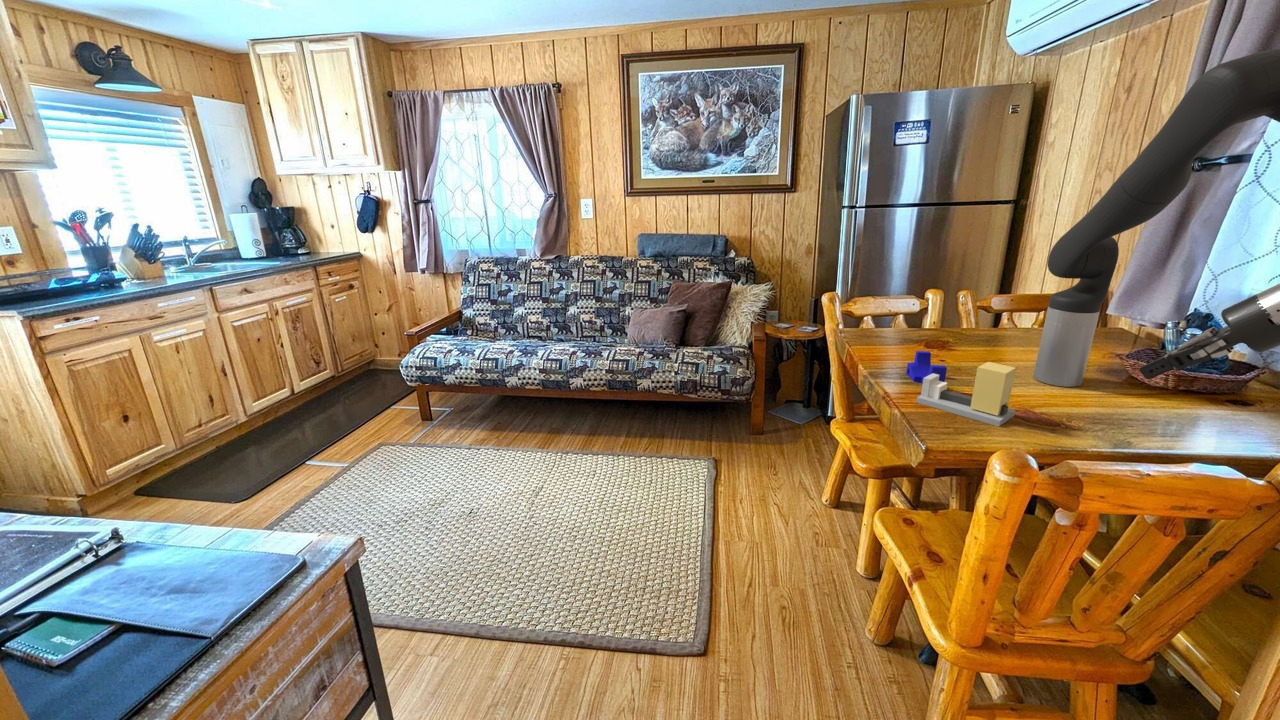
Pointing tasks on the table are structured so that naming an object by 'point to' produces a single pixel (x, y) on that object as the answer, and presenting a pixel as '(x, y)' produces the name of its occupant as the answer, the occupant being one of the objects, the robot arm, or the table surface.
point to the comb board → (957, 402)
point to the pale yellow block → (992, 387)
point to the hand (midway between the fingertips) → (1143, 373)
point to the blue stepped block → (924, 367)
